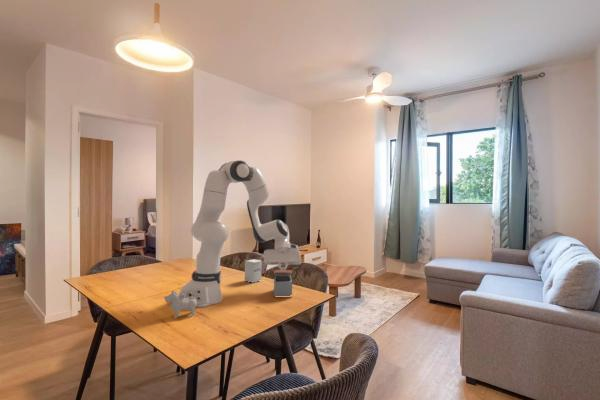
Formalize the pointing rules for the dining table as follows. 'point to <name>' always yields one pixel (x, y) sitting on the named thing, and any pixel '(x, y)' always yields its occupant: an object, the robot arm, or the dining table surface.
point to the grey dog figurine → (181, 303)
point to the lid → (283, 272)
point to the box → (282, 285)
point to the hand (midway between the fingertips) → (283, 270)
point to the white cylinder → (253, 270)
